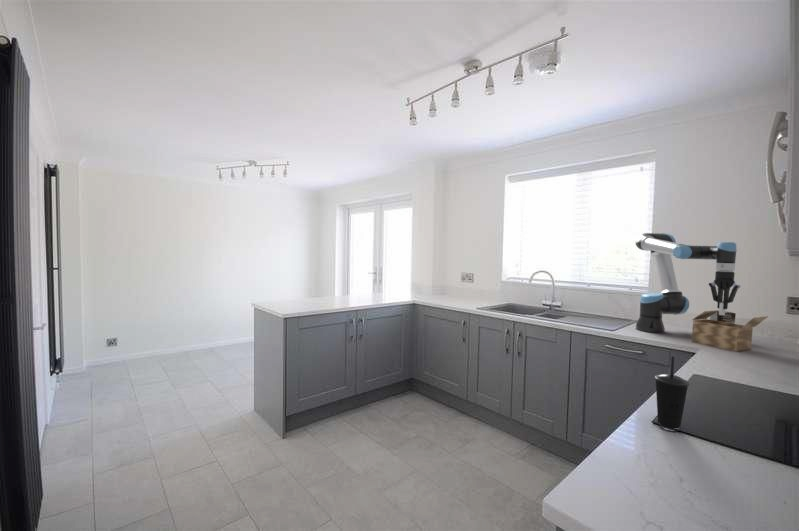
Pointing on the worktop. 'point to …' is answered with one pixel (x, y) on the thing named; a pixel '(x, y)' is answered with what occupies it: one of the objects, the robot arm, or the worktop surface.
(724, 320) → the coffee box
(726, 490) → the worktop surface
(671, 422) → the drinking cup
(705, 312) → the flap
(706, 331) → the carton
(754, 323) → the flap
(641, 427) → the worktop surface
